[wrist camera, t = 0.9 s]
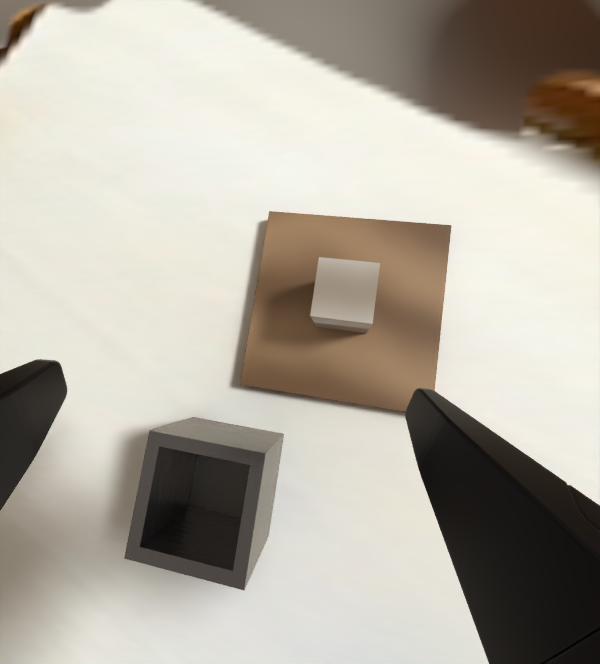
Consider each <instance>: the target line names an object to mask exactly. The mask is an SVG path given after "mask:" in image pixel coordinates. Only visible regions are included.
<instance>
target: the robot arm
mask: <svg viewBox="0 0 600 664" xmlns="http://www.w3.org/2000/svg"><path fill="white" fill-rule="evenodd" d="M66 395H67V385H66V382H65V378H64V374H63V371H62V367H61V364H60V363H59V362H57V361H55V360H42V359H39V360H34V361H32V362H29V363H27V364H24V365H22V366H19V367H17V368H14V369H12V370H9V371H7V372H4V373H2V374H0V510H1V509H2V507H3V506H4V504H5V503H6V501H7V500H8V498H9V496H10V495H11V493H12V492H13V490H14V489H15V487H16V486H17V484H18V483H19V481H20V480H21V478H22V477H23V475H24V473H25V472H26V470H27V469H28V467H29V466H30V464H31V462H32V461H33V459H34V458H35V456H36V454H37V452H38V451H39V449H40V447H41V445H42V443H43V441H44V439H45V437H46V435H47V433H48V431H49V429H50V427H51V425H52V423H53V421H54V419H55V417H56V416H57V414H58V412H59V410H60V408H61V406H62V404H63V402H64V400H65V398H66ZM406 421H407V425H408V429H409V433H410V437H411V441H412V445H413V449H414V453H415V457H416V461H417V464H418V468H419V471H420V474H421V477H422V480H423V483H424V485H425V488H426V491H427V494H428V496H429V499H430V502H431V505H432V507H433V510H434V513H435V516H436V518H437V521H438V524H439V527H440V530H441V532H442V535H443V538H444V541H445V543H446V546H447V549H448V552H449V554H450V557H451V560H452V563H453V565H454V568H455V571H456V574H457V576H458V579H459V582H460V585H461V587H462V590H463V593H464V596H465V598H466V601H467V604H468V607H469V609H470V612H471V615H472V618H473V620H474V623H475V626H476V629H477V631H478V634H479V637H480V640H481V642H482V645H483V648H484V651H485V653H486V656H487V659H488V662H489V664H600V505H598V504H597V503H595V502H594V501H592V500H591V499H589V498H588V497H586V496H585V495H584V494H582V493H581V492H579V491H578V490H576V489H575V488H574V487H572V486H571V485H567V483H566V482H565V481H563V480H562V479H561V478H559V477H558V476H556V475H555V474H553V473H552V472H550V471H549V470H548V469H546V468H545V467H543V466H542V465H540V464H539V463H537V462H536V461H535V460H533V459H532V458H530V457H529V456H527V455H526V454H524V453H523V452H522V451H520V450H519V449H517V448H516V447H514V446H513V445H511V444H510V443H509V442H507V441H506V440H504V439H503V438H501V437H500V436H499V435H497V434H496V433H494V432H493V431H491V430H490V429H488V428H487V427H486V426H484V425H483V424H481V423H480V422H478V421H477V420H475V419H474V418H473V417H471V416H470V415H468V414H467V413H465V412H464V411H462V410H461V409H460V408H458V407H457V406H455V405H454V404H452V403H451V402H450V401H448V400H447V399H445V398H444V397H442V396H441V395H439V394H438V393H437V392H435V391H434V390H432V389H425V388H418V389H416V390H415V391H414V393H413V395H412V397H411V400H410V402H409V404H408V406H407V409H406Z"/></svg>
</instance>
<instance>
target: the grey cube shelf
mask: <svg viewBox="0 0 600 664" xmlns="http://www.w3.org/2000/svg"><path fill="white" fill-rule="evenodd" d="M283 436H284V434H281V433H276V432H270V431H265V430H260V429H254V428H249V427H243V426H238V425H233V424H227V423H222V422H216V421H211V420H206V419H200V418H195V417H193V418H189V419H186V420H183V421H179V422H176V423H173V424H170V425H166V426H163V427H160V428H156V429H153V430H150V432H149V437H148V442H147V447H146V452H145V457H144V462H143V467H142V472H141V477H140V482H139V487H138V492H137V497H136V502H135V507H134V512H133V517H132V522H131V528H130V533H129V538H128V543H127V548H126V553H125V559H129V560H133V561H137V562H140V563H144V564H148V565H152V566H155V567H159V568H163V569H166V570H170V571H174V572H178V573H181V574H185V575H189V576H193V577H196V578H200V579H204V580H208V581H211V582H215V583H219V584H223V585H226V586H230V587H234V588H238V589H241V590H245V587H246V585H247V583H248V581H249V578H250V576H251V574H252V572H253V570H254V567H255V565H256V563H257V561H258V558H259V556H260V554H261V552H262V549H263V547H264V545H265V543H266V540H267V538H268V535H269V529H270V522H271V515H272V509H273V502H274V496H275V489H276V483H277V476H278V469H279V463H280V456H281V450H282V443H283ZM197 454H199V455H204V456H209V457H213V458H218V459H223V460H228V461H233V462H238V463H243V464H248V465H250V468H249V475H248V481H247V487H246V493H245V499H244V505H243V512H242V518H238V517H234V516H230V515H226V514H221V513H217V512H213V511H208V510H204V509H200V508H195V507H191V506H187V505H188V500H189V494H190V489H191V483H192V478H193V472H194V467H195V461H196V456H197Z"/></svg>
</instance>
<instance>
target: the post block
mask: <svg viewBox="0 0 600 664" xmlns="http://www.w3.org/2000/svg"><path fill="white" fill-rule="evenodd" d="M450 233H451V225H439V224H426V223H413V222H400V221H388V220H375V219H362V218H349V217H336V216H323V215H310V214H297V213H285V212H272V211H269V216H268V222H267V228H266V234H265V240H264V246H263V252H262V258H261V264H260V269H259V275H258V281H257V287H256V293H255V299H254V305H253V311H252V317H251V322H250V328H249V334H248V340H247V346H246V352H245V358H244V364H243V370H242V376H241V381H240V385H246V386H253V387H259V388H265V389H271V390H277V391H283V392H289V393H295V394H301V395H307V396H313V397H319V398H325V399H331V400H337V401H343V402H349V403H355V404H362V405H368V406H374V407H380V408H386V409H392V410H398V411H404V412H406V409H407V406H408V404H409V402H410V400H411V397H412V395H413V393H414V391H415V390H416V389H418V388H425V389H432V390H435V380H436V370H437V360H438V351H439V341H440V331H441V321H442V311H443V302H444V292H445V282H446V272H447V262H448V252H449V243H450Z"/></svg>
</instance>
